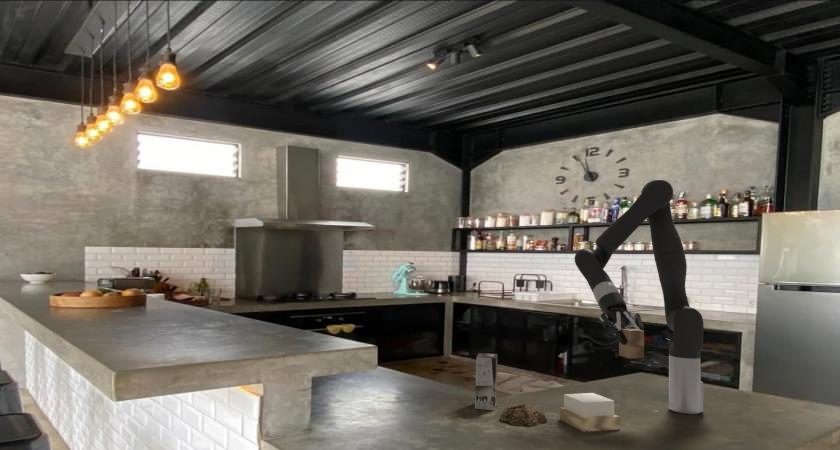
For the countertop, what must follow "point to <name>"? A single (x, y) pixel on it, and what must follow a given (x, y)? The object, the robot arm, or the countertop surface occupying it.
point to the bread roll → (523, 415)
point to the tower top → (589, 404)
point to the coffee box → (486, 381)
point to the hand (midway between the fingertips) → (633, 342)
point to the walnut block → (632, 344)
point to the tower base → (590, 421)
